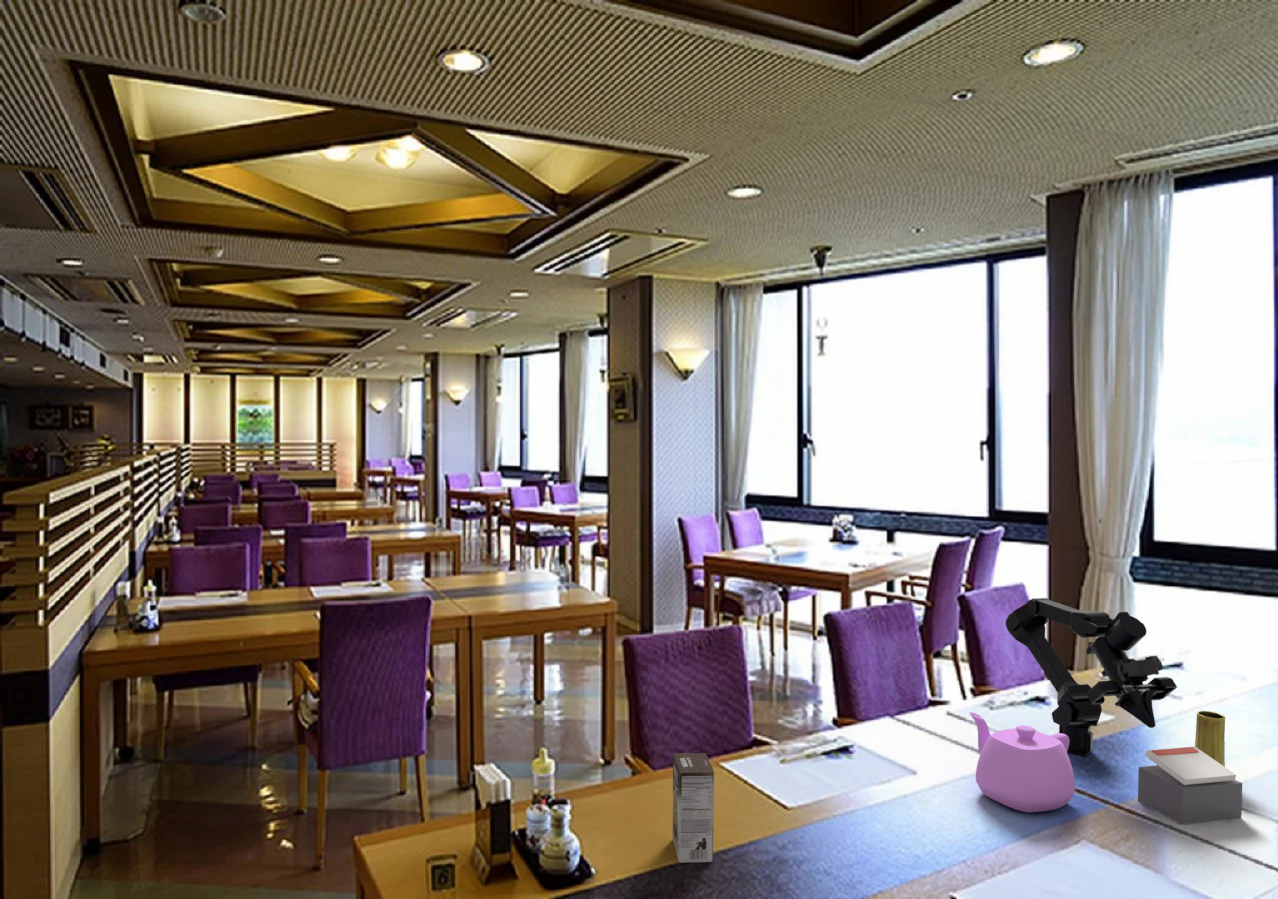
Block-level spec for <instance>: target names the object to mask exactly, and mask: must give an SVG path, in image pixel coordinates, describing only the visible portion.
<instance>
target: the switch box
mask: <svg viewBox="0 0 1278 899" xmlns="http://www.w3.org/2000/svg"><path fill="white" fill-rule="evenodd" d="M1137 781H1138V782H1137V801H1138V802H1139V803H1141V804H1143V805H1146V807H1148V808H1151V809H1153V810H1154V811H1156V812H1158V813H1160V814H1162V815H1163V816H1166V817H1167V818H1169V819H1171V820H1172V821H1175V822H1177V823H1179V825H1191V824H1199V823H1209V822H1219V821H1227V820H1236V819H1237V820H1238V819H1242V810H1243V809H1242V807H1243V806H1242V805H1243V782H1241V781H1238V780H1236V779H1235V780H1232V781H1221V782H1211V783H1200V784H1190V785H1183V784H1182V783H1181V782H1179V781H1178V780H1177V779H1175V778H1174V777H1173V776H1171V775H1170V774H1169V773H1167V772H1166V771H1165V770H1163V769H1162V768H1161V767H1159V766H1158V765H1157V764H1156V765H1147V766H1144V765H1143V766H1138V780H1137Z"/></svg>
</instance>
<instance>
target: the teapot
mask: <svg viewBox="0 0 1278 899" xmlns="http://www.w3.org/2000/svg"><path fill="white" fill-rule="evenodd" d="M968 713H969V715H970V717H971V718H972V719H973V721H974V722H975V724H976V729H977V748H978V749H977V750H978V752H979V757H978V760H977V764H976V769H975V781H976V784H977V786H978V787H979V789H980V792H981V793H982V794H983V795H984V796H986V797H988V798H989V799H991V800H994V801H995V802H997V803H999V804H1001V805H1004V806H1006V807H1008V808H1010V809H1014V810H1016V811H1020V812H1024V813H1029V814H1030V813H1031V814H1032V813H1038V812H1039V813H1040V812H1041V813H1042V812H1048V811H1049V812H1050V811H1052V810H1053V811H1054V810H1057V809H1060V808H1062V807H1064V806H1065V805H1067V804H1068V803H1069V802H1070V801H1071V799H1072V798H1073V796H1074V794H1075V791H1076V782H1075V781H1076V780H1075V773H1074V770H1073V767H1072V766H1073V765H1072V763H1071V760H1070V757H1069V755H1068V752H1067V751H1068V747H1069V737H1068V736H1067V735H1065V734H1062V733H1059V732H1058V733H1054V734H1051V735H1048V734H1045V733H1043V732H1040V731H1038V730H1036V728H1034V727H1032V726H1030V725H1022V724H1021V725H1017V726H1016V727H1015V728H1008V729H1001V730H999V731H995V732H993V733H990V730H989V726H988V724H987V721H986V720H985V719H984V718H983V717H982V716H981V715H979V714H977V713H975V712H968Z"/></svg>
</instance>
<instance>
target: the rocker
mask: <svg viewBox="0 0 1278 899" xmlns="http://www.w3.org/2000/svg"><path fill="white" fill-rule="evenodd" d="M1144 757H1146V758H1147V759H1149V760H1150V761H1151V762H1152V763H1154V764H1156V765H1158V766H1159V767H1161V768H1162V769H1163V770H1165V771H1166V772H1167V773H1169V774H1170V775H1171V776H1173V777H1174V778H1175V779H1177V780H1178V781H1179V782H1181V783H1182V784H1183V785H1190V784H1200V783H1211V782H1221V781H1232V780H1236V777H1237V774H1236V773H1234V772H1233V771H1231V770H1230V769H1229V768H1227V767H1226V766H1225V767H1224V766H1223V765H1221V764H1220V763H1218V762H1217V761H1215V760H1214V759H1212V758H1211V757H1209V756H1208V755H1207V754H1205V753H1204V752H1202V751H1201V750H1199V749H1198V748H1196V747H1195V746H1185V747H1173V748H1171V747H1170V748H1160V749H1149V750H1145V753H1144Z"/></svg>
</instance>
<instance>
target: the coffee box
mask: <svg viewBox="0 0 1278 899" xmlns="http://www.w3.org/2000/svg"><path fill="white" fill-rule="evenodd" d="M714 812H715V771H714V768H713V766H712V764H711V761H710V759H709V757H708V755H707V753H706V752H702V753H700V752H699V753H696V752H695V753H694V752H677V753H676V752H675V753H673V754H672V841H673V847H674V850H675V854H676V858H677V863H680V864H681V863H682V864H683V863H684V864H685V863H712V862H713V859H714V820H715V818H714V817H715V813H714Z"/></svg>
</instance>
